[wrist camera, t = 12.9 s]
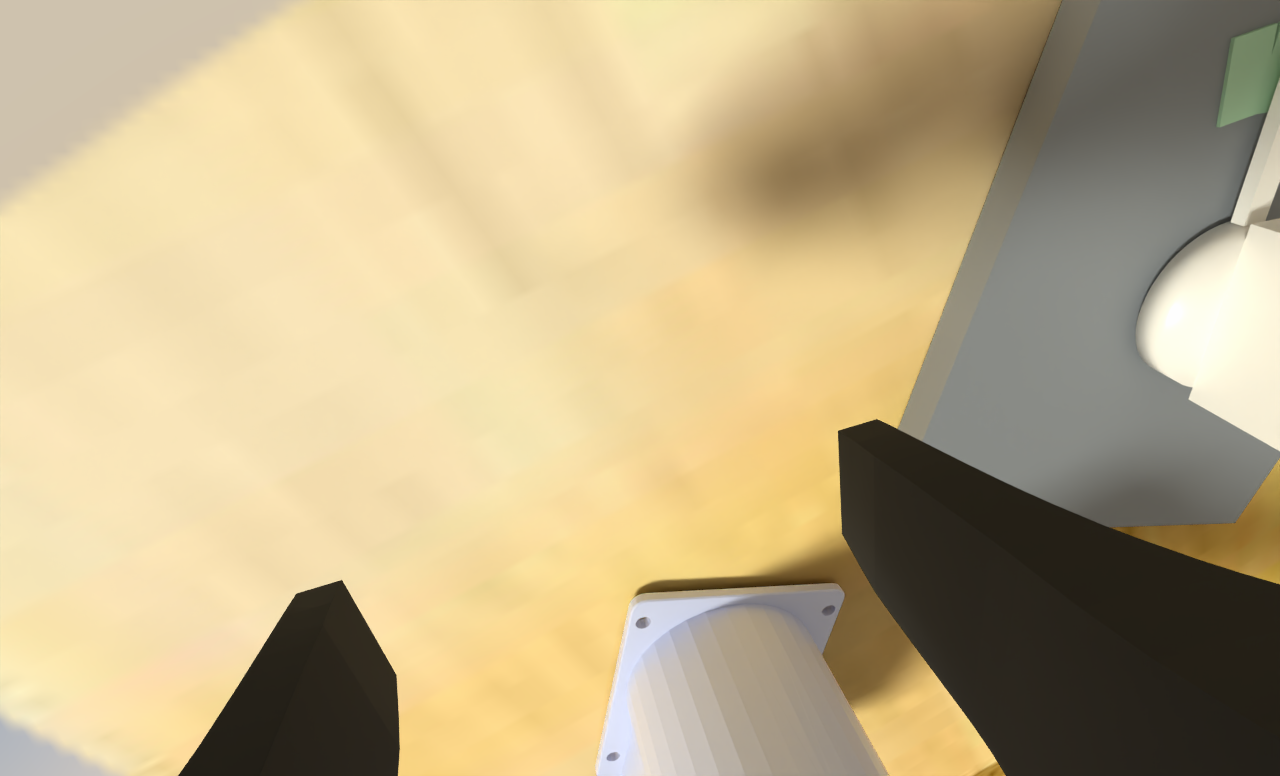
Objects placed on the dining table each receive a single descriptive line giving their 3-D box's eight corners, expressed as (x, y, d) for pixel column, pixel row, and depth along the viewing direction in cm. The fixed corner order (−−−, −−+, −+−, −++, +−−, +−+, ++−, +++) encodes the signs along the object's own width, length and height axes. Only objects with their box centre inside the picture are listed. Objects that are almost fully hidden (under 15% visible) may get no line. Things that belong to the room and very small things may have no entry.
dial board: (1207, 504, 29) (1237, 524, 28) (866, 511, 25) (885, 536, 24) (1528, 13, 21) (1587, 15, 20) (1104, -109, 17) (1151, -115, 16)
